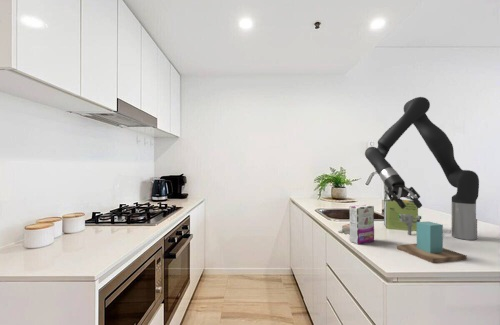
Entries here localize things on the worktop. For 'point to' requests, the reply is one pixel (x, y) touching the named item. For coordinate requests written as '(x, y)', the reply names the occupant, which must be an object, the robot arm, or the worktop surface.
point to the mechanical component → (409, 220)
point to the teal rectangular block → (430, 237)
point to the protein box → (394, 210)
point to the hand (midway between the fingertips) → (412, 207)
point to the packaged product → (345, 229)
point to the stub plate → (432, 254)
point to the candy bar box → (361, 224)
